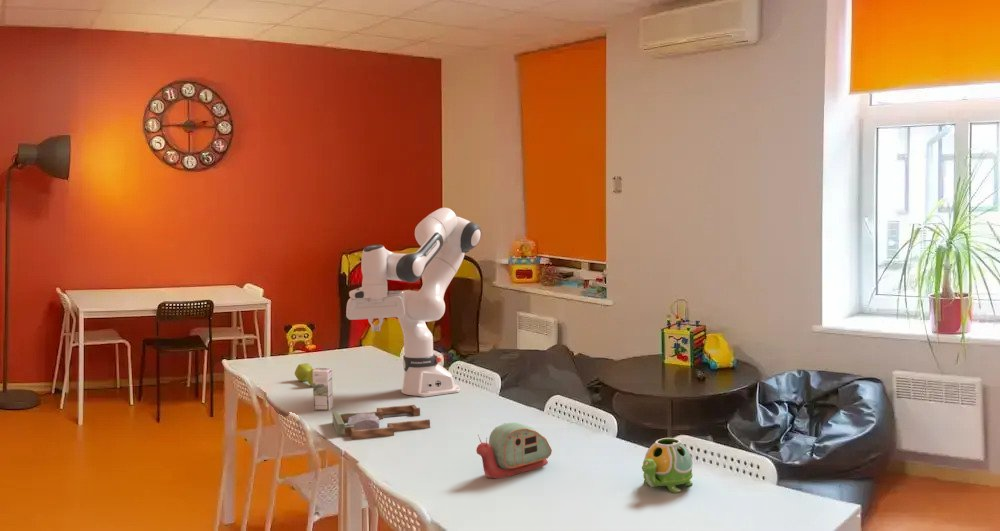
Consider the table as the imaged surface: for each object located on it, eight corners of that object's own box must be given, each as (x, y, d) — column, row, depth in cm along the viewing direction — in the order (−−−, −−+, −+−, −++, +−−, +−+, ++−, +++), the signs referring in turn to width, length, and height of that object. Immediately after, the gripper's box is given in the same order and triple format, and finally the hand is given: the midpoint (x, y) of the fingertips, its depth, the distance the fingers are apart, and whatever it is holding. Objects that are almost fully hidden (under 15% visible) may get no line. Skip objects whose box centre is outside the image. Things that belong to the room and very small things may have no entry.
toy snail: (538, 458, 263) (537, 412, 262) (555, 465, 258) (555, 417, 256) (469, 477, 248) (468, 428, 247) (486, 484, 242) (485, 434, 241)
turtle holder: (624, 491, 235) (623, 446, 234) (662, 473, 249) (662, 431, 247) (664, 502, 227) (664, 456, 226) (701, 483, 240) (702, 439, 239)
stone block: (353, 438, 293) (382, 429, 296) (349, 424, 293) (379, 415, 296) (347, 430, 305) (376, 421, 307) (344, 417, 304) (372, 408, 307)
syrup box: (333, 406, 327) (332, 367, 326) (329, 410, 322) (327, 370, 320) (318, 406, 328) (316, 367, 327) (313, 410, 322) (311, 370, 321)
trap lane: (416, 411, 319) (416, 400, 318) (433, 431, 293) (432, 419, 293) (331, 419, 310) (330, 407, 310) (340, 440, 285) (339, 428, 284)
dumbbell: (328, 386, 360) (327, 368, 360) (309, 389, 356) (308, 371, 355) (312, 378, 374) (311, 361, 373) (293, 381, 370) (293, 364, 369)
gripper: (402, 289, 320) (403, 327, 321) (344, 292, 314) (346, 331, 316) (406, 291, 314) (407, 330, 315) (347, 294, 308) (348, 334, 310)
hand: (376, 330), depth 316 cm, fingers closed
